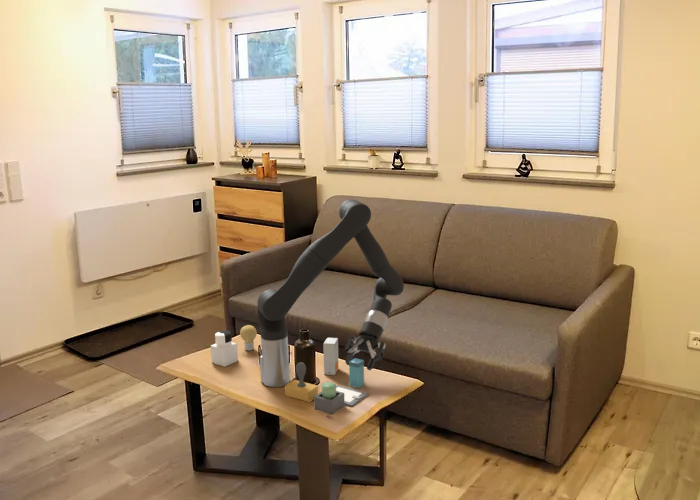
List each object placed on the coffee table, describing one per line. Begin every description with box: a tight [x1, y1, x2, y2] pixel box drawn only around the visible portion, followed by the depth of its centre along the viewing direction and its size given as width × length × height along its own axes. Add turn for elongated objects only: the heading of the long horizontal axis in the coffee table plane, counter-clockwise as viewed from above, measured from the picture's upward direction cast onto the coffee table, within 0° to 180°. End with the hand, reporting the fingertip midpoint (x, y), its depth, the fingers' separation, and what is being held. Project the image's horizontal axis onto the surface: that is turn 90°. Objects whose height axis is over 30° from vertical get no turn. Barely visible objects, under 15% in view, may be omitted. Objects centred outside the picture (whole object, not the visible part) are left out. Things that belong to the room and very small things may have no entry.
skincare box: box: [322, 337, 339, 376], centre depth 238 cm, size 6×4×12 cm
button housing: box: [313, 391, 346, 415], centre depth 212 cm, size 7×7×4 cm
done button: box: [321, 381, 337, 400], centre depth 211 cm, size 5×5×4 cm
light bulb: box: [239, 324, 257, 352], centre depth 260 cm, size 6×6×10 cm
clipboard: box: [336, 384, 368, 407], centre depth 220 cm, size 12×10×1 cm
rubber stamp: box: [284, 361, 319, 403], centre depth 220 cm, size 10×6×12 cm, turn 59°
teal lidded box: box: [348, 357, 365, 389], centre depth 227 cm, size 4×4×9 cm
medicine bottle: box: [210, 329, 239, 368], centre depth 248 cm, size 7×7×12 cm
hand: (357, 366), depth 227 cm, fingers open, 8 cm apart
